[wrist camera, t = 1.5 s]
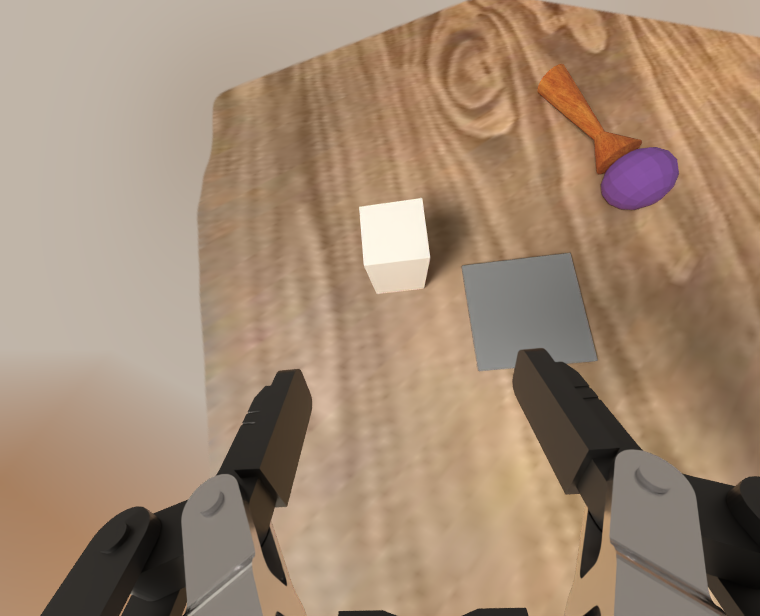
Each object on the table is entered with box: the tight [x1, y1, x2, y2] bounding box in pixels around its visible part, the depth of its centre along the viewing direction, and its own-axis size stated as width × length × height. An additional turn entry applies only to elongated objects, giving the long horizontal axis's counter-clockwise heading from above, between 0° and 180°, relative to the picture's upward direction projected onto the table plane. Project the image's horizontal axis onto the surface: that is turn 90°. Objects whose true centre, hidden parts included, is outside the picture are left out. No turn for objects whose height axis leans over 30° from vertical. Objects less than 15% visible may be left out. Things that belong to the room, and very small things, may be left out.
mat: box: [462, 253, 598, 371], centre depth 30 cm, size 12×12×1 cm
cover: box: [359, 198, 430, 294], centre depth 28 cm, size 6×6×10 cm
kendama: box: [538, 64, 679, 210], centre depth 31 cm, size 6×6×20 cm
